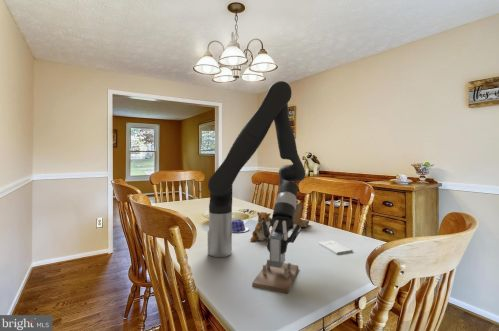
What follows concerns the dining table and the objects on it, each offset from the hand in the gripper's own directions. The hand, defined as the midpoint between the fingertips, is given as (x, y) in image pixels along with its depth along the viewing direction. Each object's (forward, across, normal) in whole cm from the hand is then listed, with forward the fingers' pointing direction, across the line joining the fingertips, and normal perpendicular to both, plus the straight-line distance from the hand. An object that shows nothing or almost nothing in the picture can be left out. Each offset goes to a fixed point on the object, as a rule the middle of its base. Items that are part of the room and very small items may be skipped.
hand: (276, 251), depth 81 cm
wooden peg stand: (+5, 0, +8) cm, 9 cm away
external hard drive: (-18, +16, +33) cm, 41 cm away
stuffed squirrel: (-19, -17, +32) cm, 41 cm away
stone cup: (-37, -6, +50) cm, 63 cm away
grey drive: (+2, 0, +5) cm, 5 cm away
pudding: (-24, -33, +38) cm, 56 cm away
